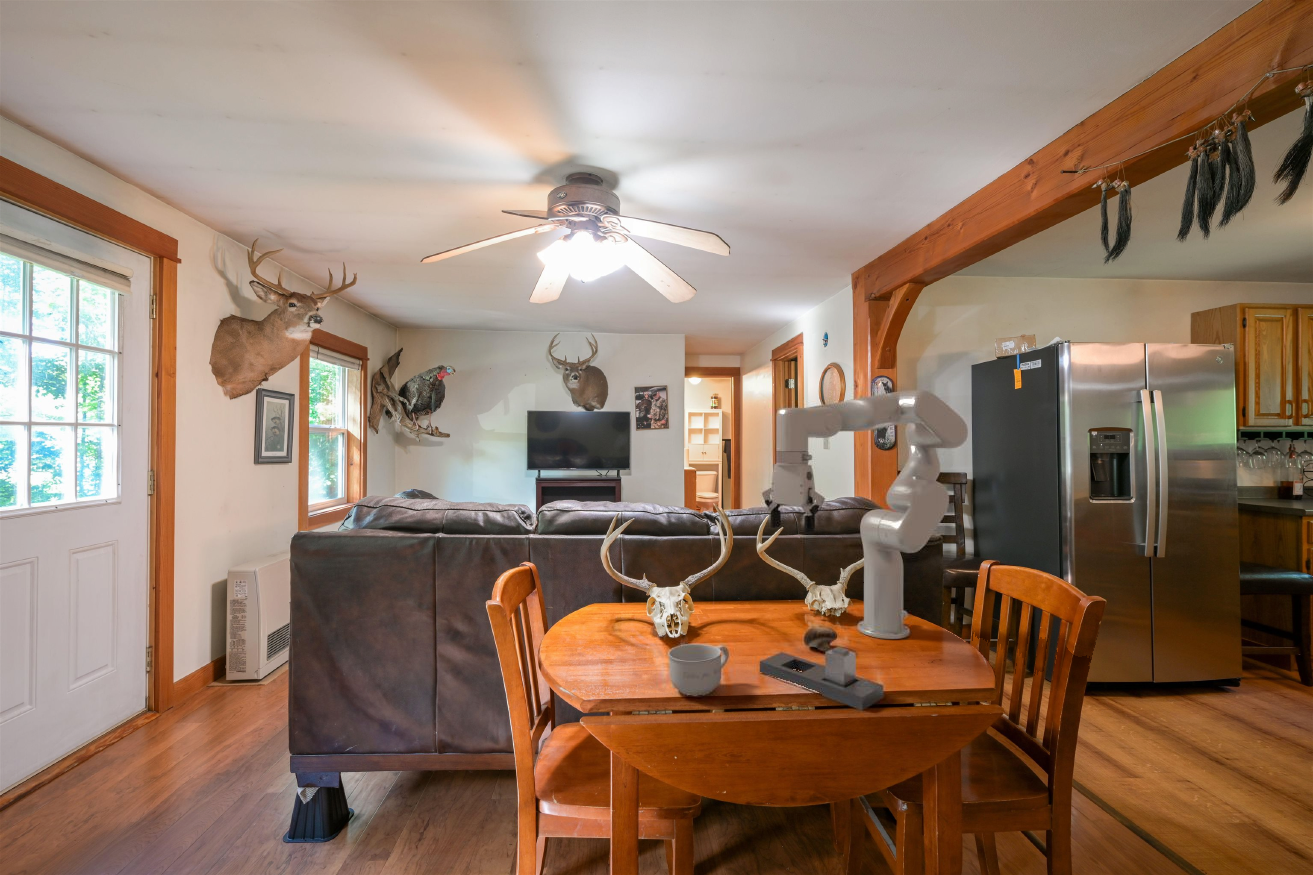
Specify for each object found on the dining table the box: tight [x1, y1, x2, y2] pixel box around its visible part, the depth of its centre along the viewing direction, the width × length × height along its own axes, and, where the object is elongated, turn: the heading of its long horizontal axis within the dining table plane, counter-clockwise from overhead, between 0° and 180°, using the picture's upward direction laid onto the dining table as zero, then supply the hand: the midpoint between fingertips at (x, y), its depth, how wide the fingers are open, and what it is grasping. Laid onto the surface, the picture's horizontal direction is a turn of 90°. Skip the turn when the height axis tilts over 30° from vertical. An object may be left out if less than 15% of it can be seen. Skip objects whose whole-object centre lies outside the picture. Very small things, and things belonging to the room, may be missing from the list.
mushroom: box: [803, 625, 838, 653], centre depth 145 cm, size 8×8×6 cm
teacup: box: [667, 643, 730, 696], centre depth 123 cm, size 14×11×8 cm
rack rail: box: [759, 651, 884, 711], centre depth 125 cm, size 24×8×2 cm, turn 42°
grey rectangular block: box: [824, 646, 857, 688], centre depth 121 cm, size 4×4×9 cm
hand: (792, 529), depth 147 cm, fingers open, 9 cm apart
